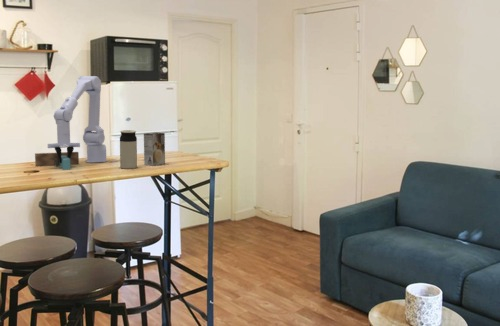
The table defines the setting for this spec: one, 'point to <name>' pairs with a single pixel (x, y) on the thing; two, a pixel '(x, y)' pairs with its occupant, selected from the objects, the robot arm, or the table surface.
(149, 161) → the coffee box
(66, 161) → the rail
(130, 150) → the travel mug
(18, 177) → the table surface
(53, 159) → the brown wooden bar
